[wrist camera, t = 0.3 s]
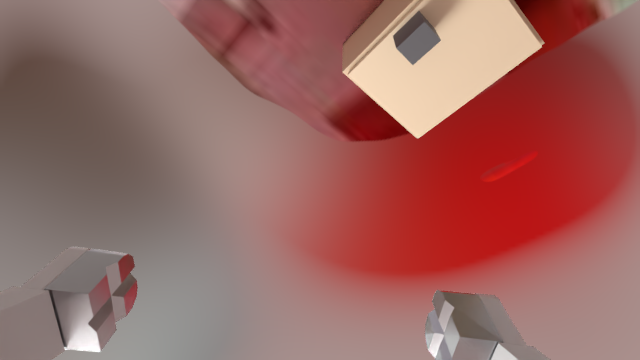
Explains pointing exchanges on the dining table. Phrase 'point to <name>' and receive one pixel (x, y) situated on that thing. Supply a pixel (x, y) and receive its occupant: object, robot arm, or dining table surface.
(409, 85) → the carton lid
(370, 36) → the carton
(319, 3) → the dining table surface
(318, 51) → the dining table surface
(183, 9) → the dining table surface
